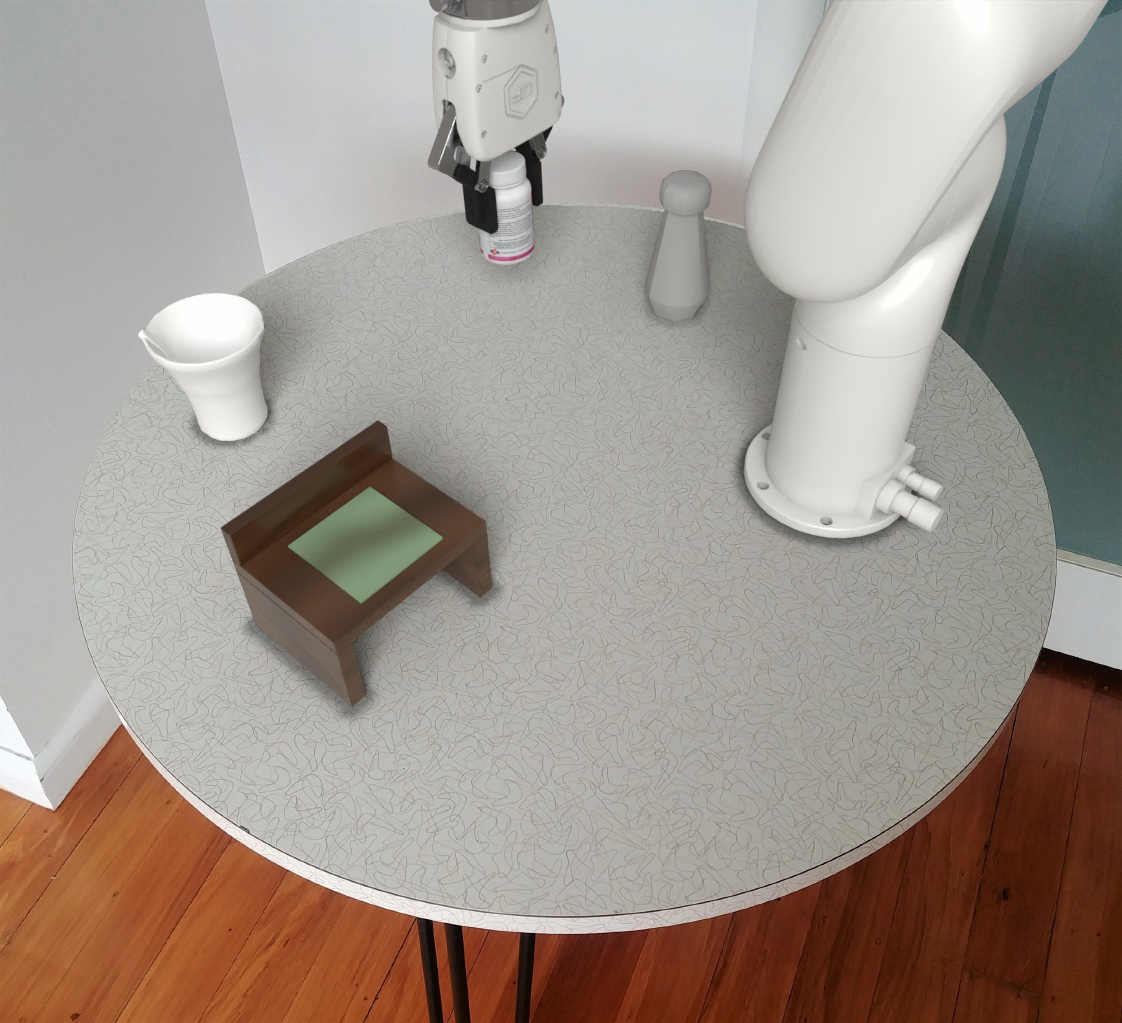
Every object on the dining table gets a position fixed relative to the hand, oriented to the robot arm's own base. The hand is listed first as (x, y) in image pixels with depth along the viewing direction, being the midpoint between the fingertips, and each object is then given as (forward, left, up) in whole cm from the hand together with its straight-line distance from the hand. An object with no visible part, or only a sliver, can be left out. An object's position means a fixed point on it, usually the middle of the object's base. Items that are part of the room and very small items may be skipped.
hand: (505, 211), depth 89 cm
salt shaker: (-11, -10, -10) cm, 18 cm away
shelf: (-16, +31, -10) cm, 36 cm away
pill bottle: (0, 0, -4) cm, 4 cm away
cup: (+7, +26, -10) cm, 29 cm away
